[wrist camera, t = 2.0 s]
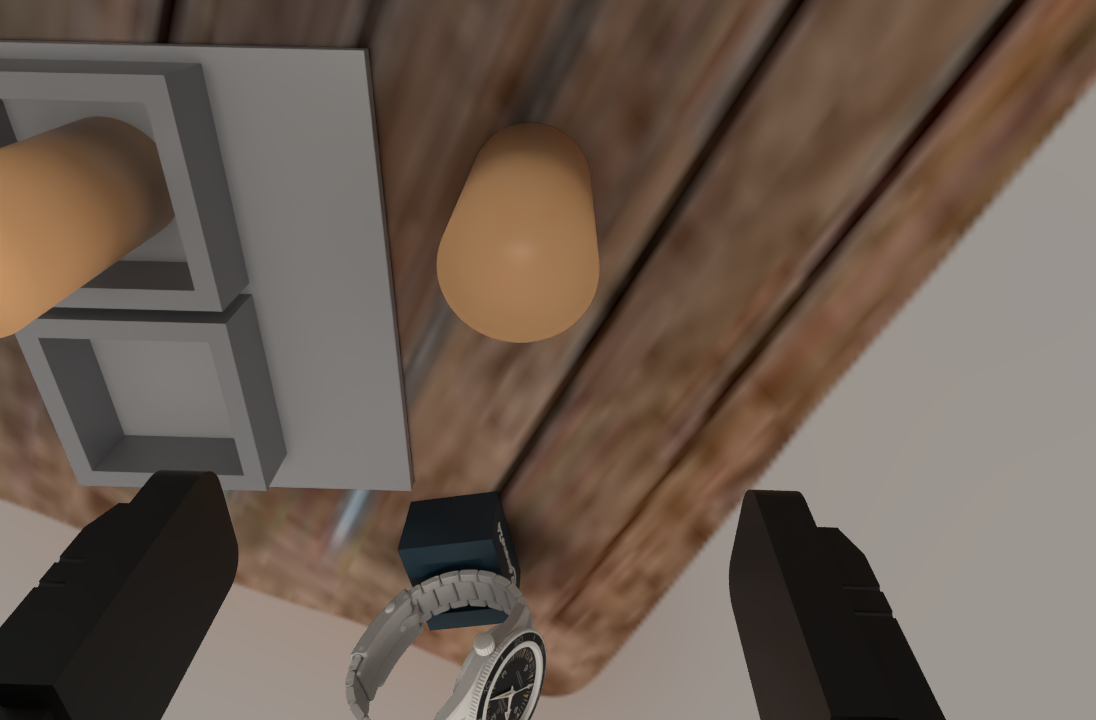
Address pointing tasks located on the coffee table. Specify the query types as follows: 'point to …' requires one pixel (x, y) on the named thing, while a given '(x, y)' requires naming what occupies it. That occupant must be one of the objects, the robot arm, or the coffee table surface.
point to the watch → (458, 612)
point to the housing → (203, 261)
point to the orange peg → (522, 237)
